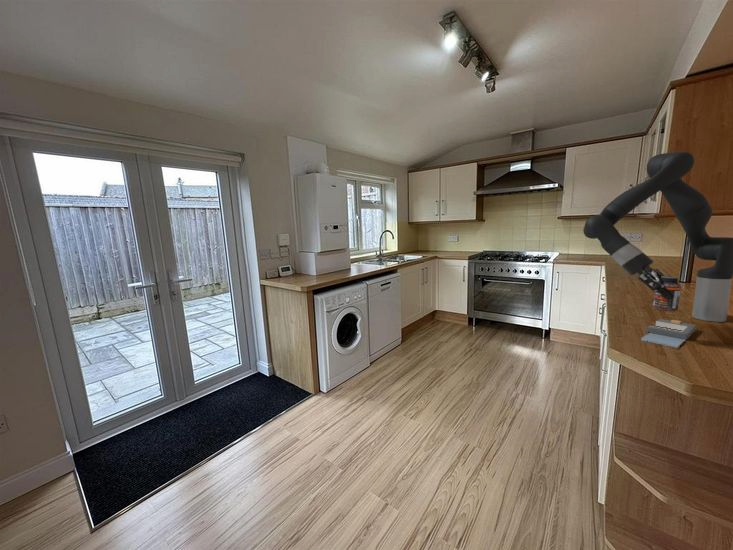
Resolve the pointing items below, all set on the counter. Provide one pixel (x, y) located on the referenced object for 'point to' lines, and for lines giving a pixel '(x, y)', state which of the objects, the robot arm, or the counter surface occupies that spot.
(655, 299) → the supplement bottle
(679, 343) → the coaster
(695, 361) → the counter surface
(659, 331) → the grey c-shaped bracket
